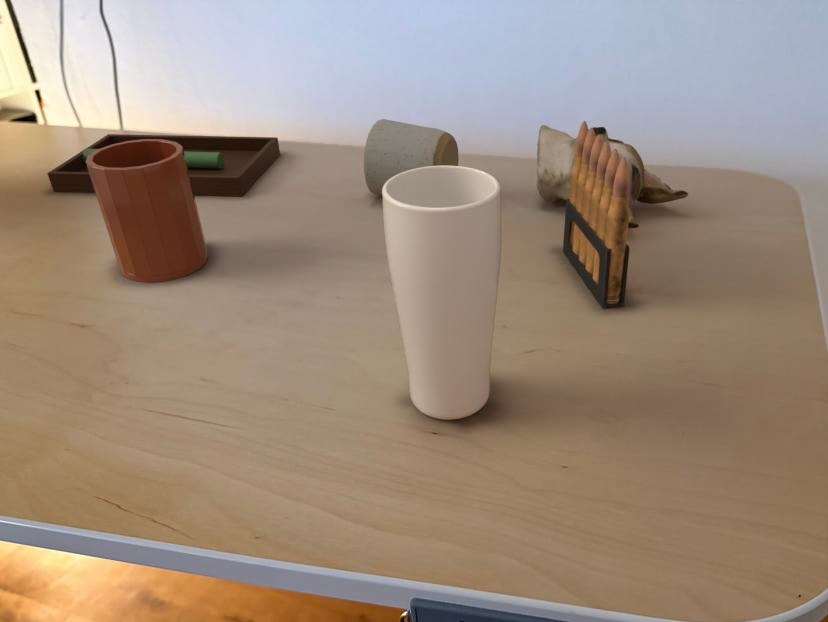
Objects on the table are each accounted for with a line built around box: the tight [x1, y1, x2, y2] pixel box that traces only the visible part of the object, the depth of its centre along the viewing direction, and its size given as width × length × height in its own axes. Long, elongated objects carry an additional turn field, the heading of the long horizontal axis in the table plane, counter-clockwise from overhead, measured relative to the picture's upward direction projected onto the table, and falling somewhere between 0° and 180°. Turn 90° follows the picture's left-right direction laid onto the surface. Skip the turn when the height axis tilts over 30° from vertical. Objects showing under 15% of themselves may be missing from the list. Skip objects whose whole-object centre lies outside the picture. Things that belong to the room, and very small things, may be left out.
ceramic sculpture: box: [536, 124, 689, 229], centre depth 73 cm, size 11×9×15 cm
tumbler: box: [86, 139, 209, 283], centre depth 64 cm, size 7×7×10 cm
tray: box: [47, 133, 281, 197], centre depth 85 cm, size 13×21×2 cm, turn 85°
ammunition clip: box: [562, 120, 631, 309], centre depth 61 cm, size 11×2×12 cm, turn 12°
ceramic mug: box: [363, 118, 460, 196], centre depth 78 cm, size 11×8×8 cm
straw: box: [83, 148, 224, 169], centre depth 85 cm, size 4×2×16 cm
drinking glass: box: [381, 165, 503, 421], centre depth 46 cm, size 7×7×15 cm
